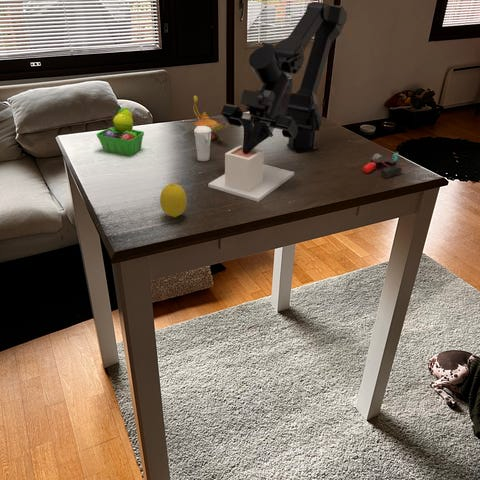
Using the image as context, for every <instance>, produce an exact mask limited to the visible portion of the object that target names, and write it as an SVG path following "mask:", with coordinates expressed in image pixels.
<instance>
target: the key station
mask: <svg viewBox="0 0 480 480" xmlns="http://www.w3.org/2000/svg"><path fill="white" fill-rule="evenodd" d="M241 149H243V144H240V145H238V146H236V147H234V148H233V149H231V150H229V151H226V152H225V153H224V174H222V175H221V176H219V177H216V178H215V179H214V180H212V181H210V182H209V183H208V185H207V186H208V188H211V189H215V190H217V191H220V192H224V193H227V194H230V195H234V196H238V197H241V198H243V199H247V200H251V201H254V202H257V203H259V202H260V201H261V200H263V199H264V198H265V197H267V196H268V195H269V194H271V193H272V192H273V191H275V190H276V189H277V188H279V187H280V186H281V185H283V184H285V183H286V182H287V181H288V180H290V179H291V178H292V177H294V175H295V171H291V170H287V169H283V168H279V167H275V166H271V165H268V164H264V161H265V159H264V158H265V157H264V155H265V151H264V150H262V149H258V148H253V149H252V150H251V152H255V153H256V154H254V155H252V156H251V157H249V158H246V157H242V156H239V155H235V154H234V153H236V152H238V151H239V150H241Z"/></svg>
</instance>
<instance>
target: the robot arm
mask: <svg viewBox="0 0 480 480" xmlns="http://www.w3.org/2000/svg"><path fill="white" fill-rule="evenodd" d="M305 10H306V11H305V12H304V13H303V15H302V16H301V18H300V19H299V21H298V22H297V24H296V25H295V27H294V28H293V29H292V32H291V33H290V34H289V36H288V37H286V38H284V39H282V40H280V41H278V42H277V44H275V46H273V45H274V44H272V43H263V44H262V46H261V47H258V48H256V49H255V50H254V51H253V52H252V53H251V54H250V55H249V58H248V64H249V65H250V68H251V69H252V70H253V73H254V74H255V76H256V79H257V80H258V81H259V82H260V83H262V84H261V86H260V88H259V89H258V90H257V89H255V90H248V89H242V91H241V92H242V93H241V96H240V100H239V104H240V105H245V109H246V111H248V112H245V111H243V110H242V109H241V107H240V106H239V105H234V104H229V103H226V104H223V106H222V108H221V109H220V112H219V113H220V115H221V116H222V117H223V119H225V121H226V123H227V124H229V125H231V126H235V127H243V138H242V139H243V140H242V141H243V144H242V146H243V153H245V154H248V153H249V152H250V151H251V150H252V149H253V148H254V149H256V147H257V146H259V144H261V143H262V142H264V141H265V140H266V139H268V138H273V136H274V134H273V132H274V129H275V130H276V129H277V130H281V134H282V136H283V137H284V138H287V139H288V143H286V146H287V147H289V148H290V149H291V150H293V151H294V152H295V153H304V152H310V151H316V150H317V147H316V146H315V137H316V136H315V135H316V132H319V131H320V129H321V127H322V126H321V125H322V122H323V120H322V118H321V116H320V115H321V114H320V113H319V106H320V105H319V102H318V97H317V93H318V89H319V86H320V83H321V79H322V75H323V73H324V69H325V66H326V63H327V59H328V56H329V53H330V50H331V46H332V44H333V42H334V41H335V40H336V39H337V38H338V37H339V36H340V35H341V33H342V30H343V28H344V26H345V25H346V22H347V19H348V13H347V11H346V10H345V8H344V6H342V5H331V4H329V3H326V2H320V1H319V2H317V1H311V2H309V3H307V5H306V9H305ZM313 37H314V39H313ZM312 39H313V42H312V46H311V48H310V52H309V56H308V58H307V59H308V60H307V61H306V62H307V63H306V66H305V69H304V73H303V76H302V80H301V83H300V86H299V89H298V90H297V91H296V92H292V94H291V95H290V99H289V103H288V105H287V107H286V111H285V116H284V115H277V116H276V118H275V119H273V118H274V115H275V113H276V111H277V110H280V108H281V105H280V102H281V99H282V97H283V95H284V93H285V90H286V89H288V90H289V89H290V83H289V78H288V77H287V75H286V74H291V75H292V74H293V75H296V74H297V73H298V72H299V71H300V70H301V69H302V67H303V64H304V62H305V54H304V52H305V50H306V48H307V47H308V46H309V44H310V42H311V41H312Z"/></svg>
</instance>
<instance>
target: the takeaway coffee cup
mask: <svg viewBox="0 0 480 480" xmlns="http://www.w3.org/2000/svg"><path fill="white" fill-rule="evenodd" d="M213 126H214V125H213ZM212 128H213V127H212ZM193 132H194V140H195V147H196V157H197V161H200V162H208V161H210V157H211V156H210V153H211V140H212V139H211V134H212V132H211V129H210V128H209V127H207V126H197V127H196V126H195V128H194V130H193Z"/></svg>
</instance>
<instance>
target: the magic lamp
mask: <svg viewBox="0 0 480 480" xmlns="http://www.w3.org/2000/svg"><path fill="white" fill-rule="evenodd" d="M198 99H199V98H198V96H197V95H194V96H193V102H194V105H193V113H194V114H195V115H196V118H197V119H198V120H197V121H195V123H194V125H195V126H194V127H195V128H196V127H197V126H207V127H209V128H210V129H211V140H213V139H215V138H216V136H215V135H214V134H213V132H218V131H219V130H220V129H222V128H223V127H225V126H228V124H229V123H228V122H226V123H218V121H216V120H214V119H210V117H209V115H207V112H206V111H203V113H202V114H200V112H199V110H198V107H197V102H198V101H199V100H198ZM213 125H214V126H213ZM212 127H213V128H212Z"/></svg>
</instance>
